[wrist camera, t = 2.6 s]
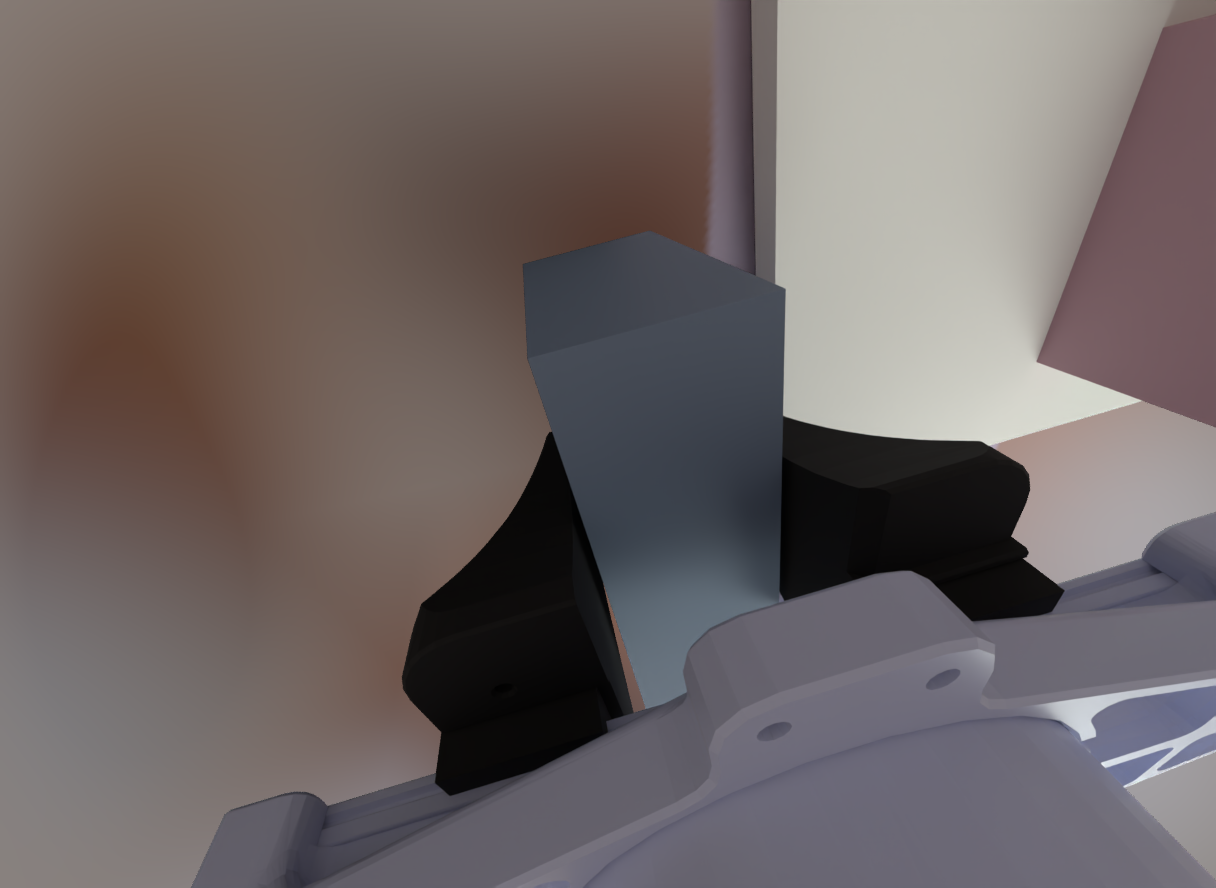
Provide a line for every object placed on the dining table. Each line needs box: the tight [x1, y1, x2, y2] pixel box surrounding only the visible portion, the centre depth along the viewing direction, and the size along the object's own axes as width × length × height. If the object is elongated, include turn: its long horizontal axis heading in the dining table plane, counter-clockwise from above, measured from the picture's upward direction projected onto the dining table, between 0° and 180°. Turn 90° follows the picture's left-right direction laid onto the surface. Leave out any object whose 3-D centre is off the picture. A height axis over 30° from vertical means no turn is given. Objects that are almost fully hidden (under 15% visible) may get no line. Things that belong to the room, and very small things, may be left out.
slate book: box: [523, 231, 786, 709], centre depth 11 cm, size 10×4×7 cm, turn 12°
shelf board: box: [751, 0, 1216, 446], centre depth 13 cm, size 16×16×1 cm
